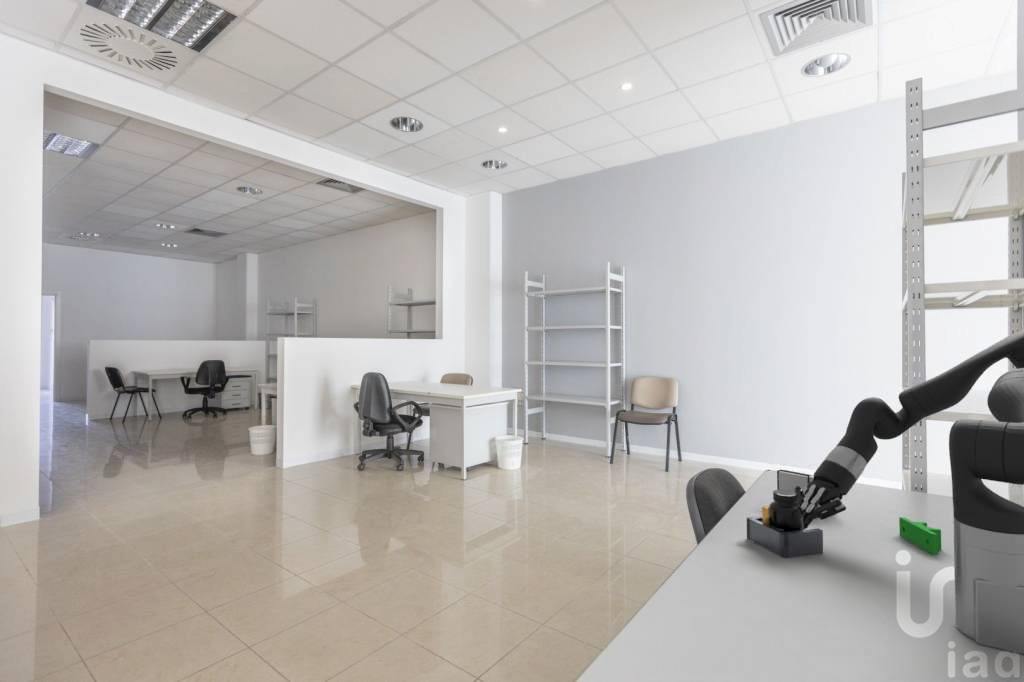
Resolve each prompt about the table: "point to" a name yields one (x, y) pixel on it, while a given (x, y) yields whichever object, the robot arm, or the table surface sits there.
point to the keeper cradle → (783, 537)
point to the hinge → (792, 480)
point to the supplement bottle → (786, 511)
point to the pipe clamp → (921, 535)
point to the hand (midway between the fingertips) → (797, 527)
